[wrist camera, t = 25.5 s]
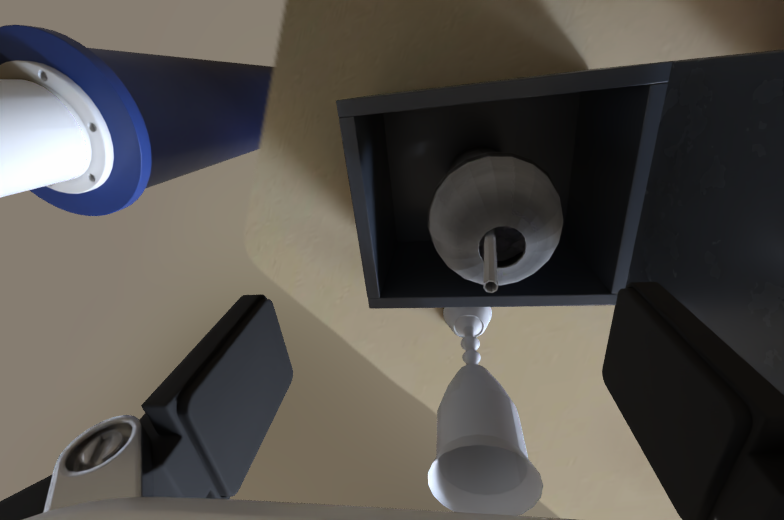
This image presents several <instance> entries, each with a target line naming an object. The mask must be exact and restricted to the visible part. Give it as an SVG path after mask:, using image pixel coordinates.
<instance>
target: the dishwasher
mask: <svg viewBox="0 0 784 520" xmlns="http://www.w3.org/2000/svg"><path fill="white" fill-rule="evenodd" d="M672 62H674V61H668V62H658V63H649V64H639V65H629V66H619V67H610V68H600V69H590V70H582V71H573V72H565V73H556V74H548V75H539V76H531V77H522V78H514V79H505V80H497V81H488V82H480V83H472V84H463V85H455V86H446V87H438V88H429V89H421V90H412V91H404V92H395V93H387V94H378V95H370V96H364V97H357V98H350V99H343V100H337V101H336V103H337V110H338V116H339V122H340V128H341V135H342V141H343V147H344V153H345V160H346V166H347V172H348V178H349V185H350V191H351V197H352V203H353V210H354V216H355V222H356V228H357V234H358V241H359V247H360V253H361V259H362V266H363V272H364V278H365V284H366V291H367V297H368V302H369V308H440V307H514V306H588V305H616V300H617V295H618V292H619V290H620V289H622V288H625V287H626V283H627V278H628V273H629V268H630V263H631V259H632V254H633V249H634V244H635V239H636V234H637V230H638V225H639V220H640V215H641V210H642V206H643V201H644V196H645V191H646V186H647V181H648V177H649V172H650V167H651V162H652V157H653V153H654V148H655V143H656V138H657V133H658V129H659V124H660V119H661V114H662V109H663V104H664V100H665V95H666V90H667V85H668V80H669V76H670V71H671V66H672ZM472 146H487V147H490V148H492V149H495V150H497V151H499V152H501V153H514V154H516V155H519V156H522V157H525V158H528V159H531V160H533V161H534V162H535V163H536V164H538V165H539V166H540V167H541V168H543V169H544V170H545V171H546V172H548V173H549V175H550V177H551V179H552V180H553V182H554V184H555V186H556V187H557V189H558V191H559V197H560V202H561V208H562V215H563V226H562V231H561V235H560V240H559V244H558V245H557V247H556V249H555V250H554V252H553V254H552V255H551V257H550V259H549V260H548V261H547V262H546V263H545V264H544V265H543V266H542V267H541V268H540V269H538V270H537V271H536V272H535V273H534V274H532V275H530V276H528V277H526V278H524V279H522V280H520V281H518V282H515V283H510V284H505V285H498V289H497V291H495V292H493V293H489V292H486V291H485V289H484V288H483V284H479V283H476V282H473V281H470V280H467V279H464V278H463V277H462V276H460V275H459V274H457V273H456V272H455V271H453V270H452V269H450V268H449V267H448V266H447V265H446V263H445V262H444V261H443V259H442V258H441V257H440V255H439V254H438V252H437V251H436V248H435V246H434V244H433V242H432V239H431V236H430V233H429V229H428V226H427V225H428V206H429V203H430V201H431V198H432V195H433V192H434V190H435V188H436V187H437V185H438V184H439V183H440V182H441V180H442V179H443V178H444V176H445V175H446V174H447V173H448V171H449V168H450V165H451V163H452V162H453V160H454V159H455V158H456V156H457V155H458V154H459V153H460V152H462V151H463V150H464V149H466V148H469V147H472Z"/></svg>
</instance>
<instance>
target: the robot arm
mask: <svg viewBox="0 0 784 520" xmlns="http://www.w3.org/2000/svg"><path fill="white" fill-rule="evenodd" d="M113 160H114V153H113V144H112V140H111V135H110V132H109V130H108V127H107V125H106V122H105V120H104V119H103V117H102V115H101V113H100V111H99V109H98V108H97V107H96V105H95V104H94V103H93V101H92V100H91V98H90V97H89V96H88V95H87V94H86V93H85V92H84V91H83V90H82V89H81V87H80V86H79V85H77V84H76V83H75V82H74V81H73V80H71V79H70V78H69V77H68V76H66V75H65V74H63V73H61V72H60V71H58V70H56V69H55V68H52V67H50V66H47V65H45V64H42V63H38V62H33V61H18V60H16V61H10V62H5V63H3V64H1V65H0V197H4V196H8V195H12V194H16V193H19V192H23V191H27V190H31V189H35V188H39V187H43V186H46V187H49V188H51V189H54V190H56V191H59V192H64V193H70V194H79V193H84V192H88V191H91V190H93V189H96V188H98V187H99V186H101V185H102V184H104V182H105V181H106V180H107V179H108V177H109V175H110V173H111V170H112V167H113ZM602 375H603V380H604V382H605V385H606V386H607V388H608V390H609V392H610V394H611V395H612V397H613V399H614V401H615V402H616V404H617V406H618V408H619V410H620V411H621V413H622V415H623V417H624V418H625V420H626V422H627V424H628V426H629V427H630V429H631V431H632V433H633V435H634V436H635V438H636V440H637V442H638V443H639V445H640V447H641V449H642V451H643V452H644V454H645V456H646V458H647V459H648V461H649V463H650V465H651V467H652V468H653V470H654V472H655V474H656V475H657V477H658V479H659V481H660V483H661V484H662V486H663V488H664V490H665V491H666V493H667V495H668V497H669V499H670V500H671V502H672V504H673V506H674V507H675V509H676V511H677V513H678V514H679V516H680V517H681V518H682V519H683V520H784V395H783V394H782V393H781V392H780V391H779V390H778V389H776V388H775V387H774V386H773V385H772V384H771V383H770V382H769V381H767V380H766V379H765V378H764V377H763V376H762V375H761V374H760V373H759V372H757V371H756V370H755V369H754V368H753V367H752V366H751V365H750V364H749V363H747V362H746V361H745V360H744V359H743V358H742V357H741V356H740V355H738V354H737V353H736V352H735V351H734V350H733V349H732V348H731V347H730V346H728V345H727V344H726V343H725V342H724V341H723V340H722V339H721V338H719V337H718V336H717V335H716V334H715V333H714V332H713V331H712V330H711V329H709V328H708V327H707V326H706V325H705V324H704V323H703V322H702V321H701V320H699V319H698V318H697V317H696V316H695V315H694V314H693V313H692V312H690V311H689V310H688V309H687V308H686V307H685V306H684V305H683V304H682V303H680V302H679V301H678V300H677V299H676V298H675V297H674V296H673V295H671V294H670V293H669V292H668V291H667V290H666V289H665V288H664V287H663V286H661V285H660V284H659V283H657V282H630V283H628V284H627V285H626V287H625V288H622V289H620V290H619V292H618V295H617V300H616V305H615V310H614V315H613V319H612V324H611V329H610V334H609V339H608V344H607V349H606V354H605V359H604V364H603V369H602ZM292 377H293V370H292V366H291V363H290V359H289V356H288V353H287V349H286V346H285V343H284V339H283V336H282V332H281V330H280V326H279V323H278V319H277V316H276V313H275V309H274V306H273V303H272V301H271V300H269V299H267V298H266V297H265V296H264V295H243V296H242V297H240V299H239V300H238V301H237V302H236V303H235V304H234V305H233V306H232V307H231V309H229V310H228V312H227V313H226V314H225V315H224V316H223V317H222V318H221V319H220V320H219V321H218V323H217V324H216V325H215V326H214V327H213V328H212V329H211V330H210V332H208V333H207V335H206V336H205V337H204V338H203V339H202V340H201V341H200V342H199V343H198V344H197V346H196V347H195V348H194V349H193V350H192V351H191V352H190V353H189V354H188V355H187V356H186V357H185V359H184V360H183V361H182V362H181V363H180V364H179V365H178V366H177V367H176V368H175V369H174V371H173V372H172V373H171V374H170V375H169V376H168V377H167V378H166V379H165V380H164V381H163V382H162V384H161V385H160V386H159V387H158V388H157V389H156V390H155V391H154V392H153V393H152V394H151V396H150V397H149V398H148V399H147V400H146V401H145V402H144V403H143V404H142V405H141V406H142V408H143V410H144V411H145V414H144V415H143V417H142V418H141V419H140V420H139V419H138V418H136V417H135V416H129V415H123V416H117V417H113V418H110V419H107V420H105V421H102V422H100V423H99V424H96V425H95V426H93V427H91V428H89V429H88V430H86V431H85V432H83V433H82V434H81V435H79V436H78V437H77V438H76V439H74V440H73V441H72V442H71V443H70V444H69V445H68V446H67V447H66V448H65V449H64V451H63V452H62V454H61V455H60V456H59V458H58V460H57V462H56V464H55V467H54V471H53V474H52V475H50V476H49V477H47V478H45V479H43V480H41V481H39V482H37V483H35V484H33V485H31V486H29V487H27V488H25V489H23V490H22V491H20V492H18V493H16V494H14V495H12V496H10V497H8V498H6V499H4V500H2V501H1V502H0V520H575V519H560V518H543V517H529V516H514V515H498V514H481V513H464V512H448V511H431V510H413V509H397V508H380V507H363V506H345V505H325V504H308V503H307V504H306V503H289V502H271V501H269V502H268V501H252V500H233V499H229V498H230V496H234V495H235V494H236V493H237V492H238V490H239V489H240V486H241V484H242V482H243V480H244V478H245V476H246V474H247V472H248V470H249V468H250V465H251V464H252V462H253V460H254V457H255V456H256V454H257V452H258V449H259V447H260V445H261V443H262V441H263V439H264V437H265V435H266V433H267V431H268V429H269V427H270V425H271V423H272V421H273V419H274V416H275V415H276V412H277V410H278V408H279V406H280V404H281V402H282V400H283V398H284V396H285V394H286V392H287V390H288V388H289V386H290V384H291V381H292Z"/></svg>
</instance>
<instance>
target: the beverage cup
mask: <svg viewBox="0 0 784 520" xmlns="http://www.w3.org/2000/svg"><path fill="white" fill-rule="evenodd" d="M427 226H428V229H429V233H430V236H431V239H432V242H433V244H434V246H435V248H436V251H437V252H438V254H439V255H440V257H441V258H442V259H443V261H444V262H445V263H446V265H447V266H448V267H449V268H450V269H452V270H453V271H455V272H456V273H457V274H459V275H460V276H462V277H463V278H464V279H467V280H470V281H473V282H476V283H479V284H483V288H484V289H485V291H486V292H489V293H493V292H495V291H497V289H498V285H505V284H510V283H515V282H518V281H520V280H522V279H524V278H526V277H528V276H530V275H532V274H534V273H535V272H536V271H537V270H538V269H540V268H541V267H542V266H543V265H544V264H545V263H546V262H547V261H548V260H549V259H550V257H551V255H552V254H553V252H554V250H555V249H556V247H557V245H558V244H559V240H560V235H561V231H562V226H563V215H562V208H561V202H560V197H559V191H558V189H557V187H556V186H555V184H554V182H553V180H552V179H551V177H550V175H549V173H548V172H546V171H545V170H544V169H543V168H541V167H540V166H539V165H538V164H536V163H535V162H534V161H533V160H531V159H528V158H525V157H522V156H519V155H516V154H514V153H501V152H499V151H497V150H495V149H492V148H490V147H487V146H472V147H469V148H466V149H464V150H463V151H462V152H460V153H459V154H458V155H457V156H456V158H455V159H454V160H453V162H452V163H451V165H450V168H449V171H448V173H447V174H446V175H445V176H444V178H443V179H442V180H441V182H440V183H439V184H438V185H437V187H436V188H435V190H434V192H433V195H432V198H431V201H430V203H429V206H428V225H427Z"/></svg>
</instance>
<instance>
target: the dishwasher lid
mask: <svg viewBox="0 0 784 520" xmlns="http://www.w3.org/2000/svg"><path fill="white" fill-rule="evenodd" d="M630 282H657V283H659V284H660V285H661V286H663V287H664V288H665V289H666V290H667V291H668V292H669V293H670V294H671V295H673V296H674V297H675V298H676V299H677V300H678V301H679V302H680V303H682V304H683V305H684V306H685V307H686V308H687V309H688V310H689V311H690V312H692V313H693V314H694V315H695V316H696V317H697V318H698V319H699V320H701V321H702V322H703V323H704V324H705V325H706V326H707V327H708V328H709V329H711V330H712V331H713V332H714V333H715V334H716V335H717V336H718V337H719V338H721V339H722V340H723V341H724V342H725V343H726V344H727V345H728V346H730V347H731V348H732V349H733V350H734V351H735V352H736V353H737V354H738V355H740V356H741V357H742V358H743V359H744V360H745V361H746V362H747V363H749V364H750V365H751V366H752V367H753V368H754V369H755V370H756V371H757V372H759V373H760V374H761V375H762V376H763V377H764V378H765V379H766V380H767V381H769V382H770V383H771V384H772V385H773V386H774V387H775V388H776V389H778V390H779V391H780V392H781V393H782V394H783V395H784V50H774V51H764V52H755V53H745V54H735V55H725V56H716V57H706V58H696V59H687V60H678V61H674V62H672V66H671V71H670V76H669V80H668V85H667V90H666V95H665V100H664V104H663V109H662V114H661V119H660V124H659V129H658V133H657V138H656V143H655V148H654V153H653V157H652V162H651V167H650V172H649V177H648V181H647V186H646V191H645V196H644V201H643V206H642V210H641V215H640V220H639V225H638V230H637V234H636V239H635V244H634V249H633V254H632V259H631V263H630V268H629V273H628V278H627V283H626V285H627V284H628V283H630Z"/></svg>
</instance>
